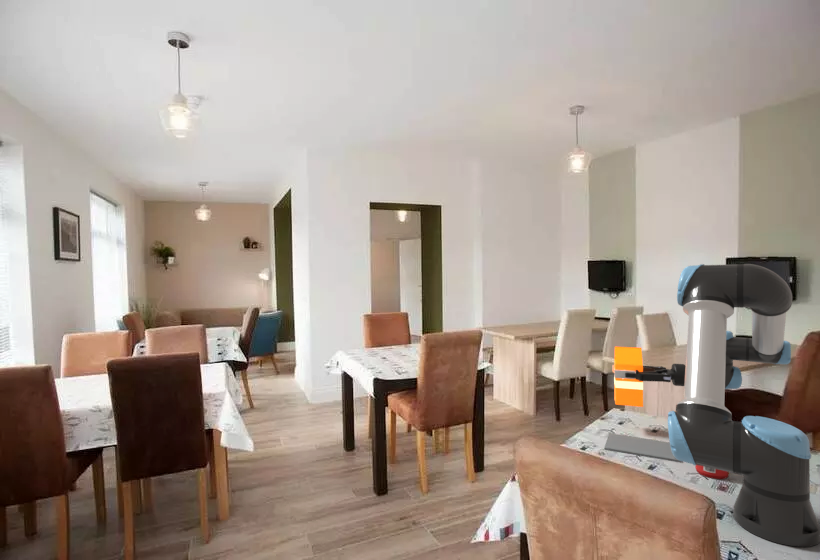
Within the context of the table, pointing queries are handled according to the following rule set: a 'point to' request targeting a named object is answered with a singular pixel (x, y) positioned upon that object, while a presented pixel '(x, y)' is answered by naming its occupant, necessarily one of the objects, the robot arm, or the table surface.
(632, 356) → the orange juice
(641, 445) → the mat
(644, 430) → the table surface
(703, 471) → the canned food
